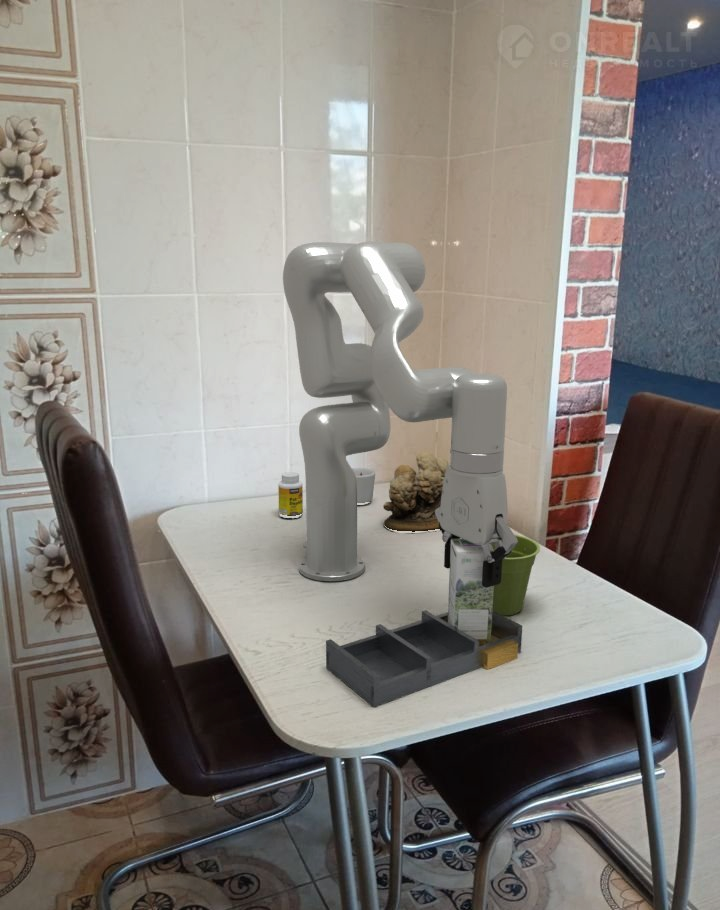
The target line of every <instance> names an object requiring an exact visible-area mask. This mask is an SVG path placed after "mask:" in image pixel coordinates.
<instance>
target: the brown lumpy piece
mask: <svg viewBox="0 0 720 910" xmlns="http://www.w3.org/2000/svg"><path fill="white" fill-rule="evenodd" d="M415 461H416V466H417V468H418V471H415V469H414V468H412V467H411V466H410V465H407V464H402V465H399V466H397V467H396V468H395V470H394V474H393V475H394V477H393V478H392V479H391V480H390V482H389V489H388V498H389V500H390V501H385V503H384V504H383V510H385V511H386V512H391V514H390V515H389V516H388V517H387V518H386V519H385V520H384V522H383V526H384V525H385V526H386V527H387V528H389V529H392V530H397V531H412V532H415V531H428V530H435V529H440V528H439V522H438V519H437V517H436V514H435V510H436V509H437V508H439V507H440V506H441V496H442V488H443V482H444V477H445V473H446V470H447V467H448V466H449V465H450V463H449V462H448V460H447V459H445V458H443V457H439V456H438V457H436V456H434V454H433V453H431V452H426V451H421V452H419V453H418V454H417V455H416V459H415Z"/></svg>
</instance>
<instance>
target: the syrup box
mask: <svg viewBox="0 0 720 910" xmlns="http://www.w3.org/2000/svg"><path fill="white" fill-rule="evenodd" d="M490 545H491V544H490ZM491 548H492V551H494V550H493V547H492V545H491ZM485 560H487V559H486V556H485V553H484V550H483V547H482V545H476V544H474V543H471V542H469V541H466V540H464V539H462V538H460V539H451V548H450V568H449V581H448V582H449V583H448V603H447V604H448V605H447V607H448V608H447V612H448V623H449V624H451V625H452V626H454V627H456V628H457V629H459V630H461V631H463V632H464V633H466V634H468V635H469V636H471V637H473V638H475V639H476V640H478V641H489V640H490V639H491V622H492V604H493V587H494V586H491V587H488V588H485V587H483V586H482V573H483V561H485Z"/></svg>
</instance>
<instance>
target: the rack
mask: <svg viewBox="0 0 720 910" xmlns="http://www.w3.org/2000/svg"><path fill="white" fill-rule="evenodd" d="M522 636H523V625H522V624H521V623H518V622H516V621H514V620H513V619H510V618H508V617H507V616H506V615H501V614H499V613H497V612H495V611H493V610H492V622H491V639H490V640H489V641H478V640H476V639H475V638H473V637H471V636H469V635H468V634H466V633H464V632H463V631H461V630H459V629H457V628H456V627H454V626H452V625H451V624H449V623H448V611H447V612H444V613H441V614H438V615H435V614H433V613H432V612H429V611H428V610H426V609H425V610H422V611H421V620H419V621H415V622H411V623H409V624H405V625H403V626H399V627H396V628H393V629H389V628H388V627H385V626H384V625H383V624H376V625H375V634H373V635H370V636H367V637H364V638H361V639H358V640H354V641H351V642H347V643H345V644H342V645H339V644H338V643H336V642H335V641H334V640H333V639H331V638H329V639H326V640H325V664H326V665H325V666H326V667H325V668H326V669H327V670H328V671H329V672H330V673H332V674H333V676H335V677H336V678H338V679H339V680H340V681H341V682H343V683H344V684H345V685H346V686H347V687H348V688H350V689H351V690H352V691H353V692H354V693H356V694H357V695H358V696H359V697H360V698H361V699H363V700H364V701H365V702H367V703H368V704H369V705H370V706H372V707H373V708H376V707H380V706H382V705H385V704H387V703H390V702H392V701H395V700H398V699H400V698H403V697H406V696H408V695H412V694H414V693H416V692H419V691H422V690H424V689H427V688H429V687H432V686H435V685H438V684H440V683H442V682H445V681H447V680H451V679H454V678H456V677H458V676H459V677H460V676H461V675H464V674H467V673H470V672H471V671H475V670H477V669H480V668H483V669H486V670H490V669H492V668H496V667H498V666H501V665H503V664H506V663H508V662H511V661H513V660H516V659H518V658H519V656H518V654H520V653H522V640H523V639H522Z"/></svg>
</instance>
